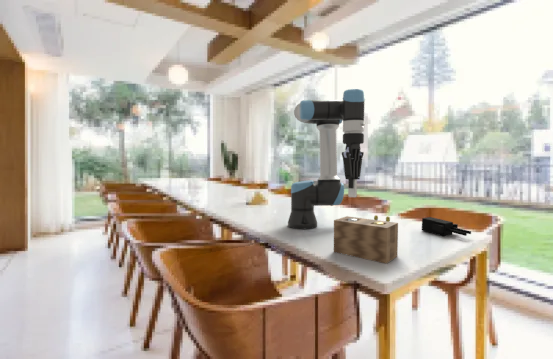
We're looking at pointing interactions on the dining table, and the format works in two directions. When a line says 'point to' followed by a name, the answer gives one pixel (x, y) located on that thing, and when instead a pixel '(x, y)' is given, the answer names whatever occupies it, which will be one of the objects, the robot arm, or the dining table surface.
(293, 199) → the robot arm
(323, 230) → the dining table surface
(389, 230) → the socket block
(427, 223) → the black pronged block
